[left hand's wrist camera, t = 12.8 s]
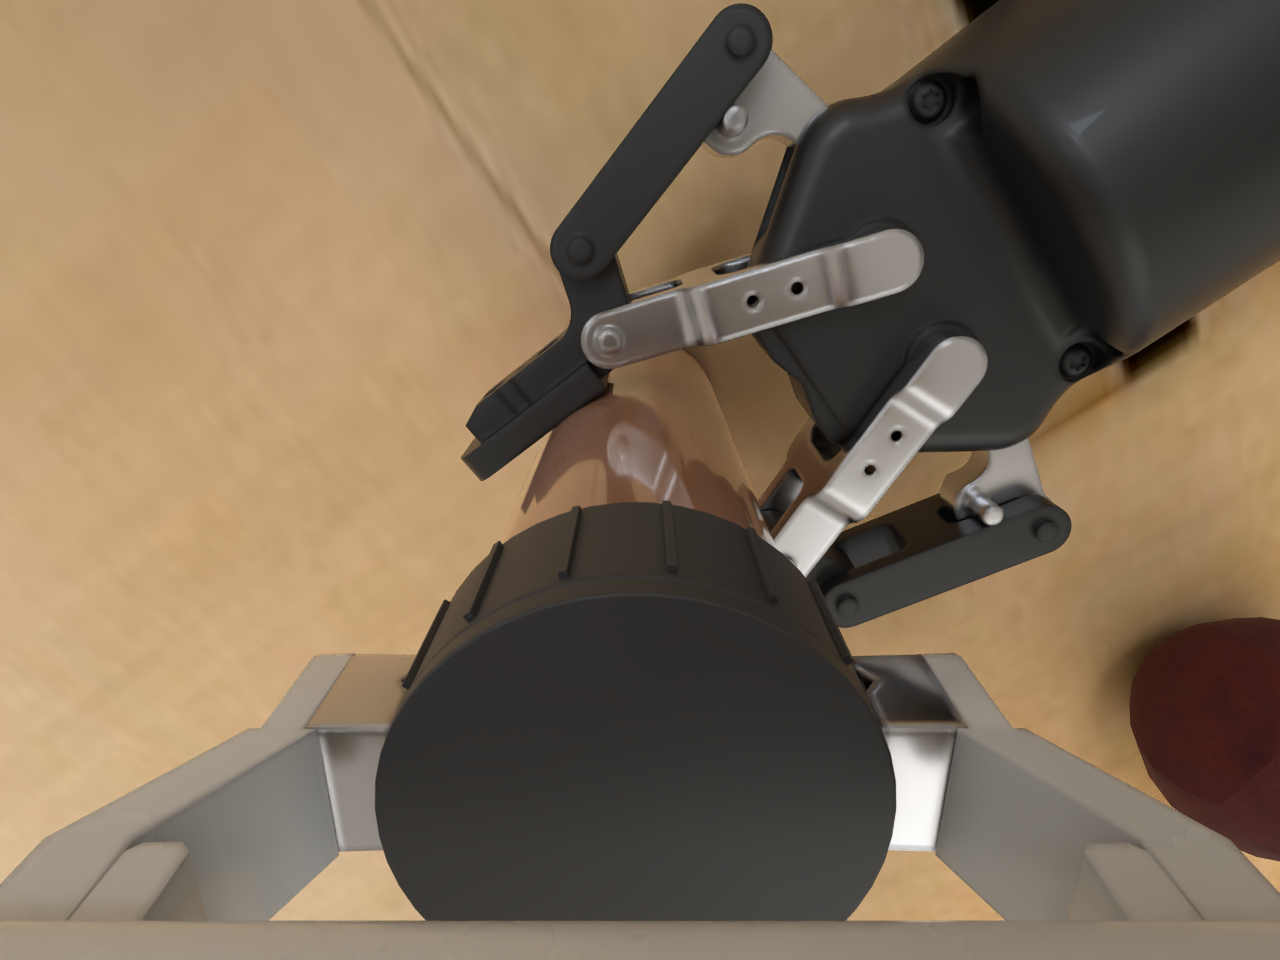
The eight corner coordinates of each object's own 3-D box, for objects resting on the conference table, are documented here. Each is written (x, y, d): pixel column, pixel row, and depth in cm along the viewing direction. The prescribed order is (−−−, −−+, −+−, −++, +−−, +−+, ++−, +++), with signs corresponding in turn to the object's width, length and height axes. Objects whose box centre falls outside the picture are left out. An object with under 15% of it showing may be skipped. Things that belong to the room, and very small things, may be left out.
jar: (734, 355, 23) (914, 644, 8) (694, 500, 25) (779, 966, 10) (577, 319, 23) (452, 549, 8) (548, 468, 25) (396, 901, 9)
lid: (614, 406, 9) (605, 474, 7) (929, 673, 10) (1011, 804, 8) (348, 704, 10) (268, 842, 8) (653, 905, 12) (656, 1072, 10)
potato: (1205, 779, 29) (1373, 949, 22) (1042, 705, 28) (1168, 862, 21) (1344, 631, 27) (1577, 772, 20) (1173, 544, 25) (1361, 662, 19)
